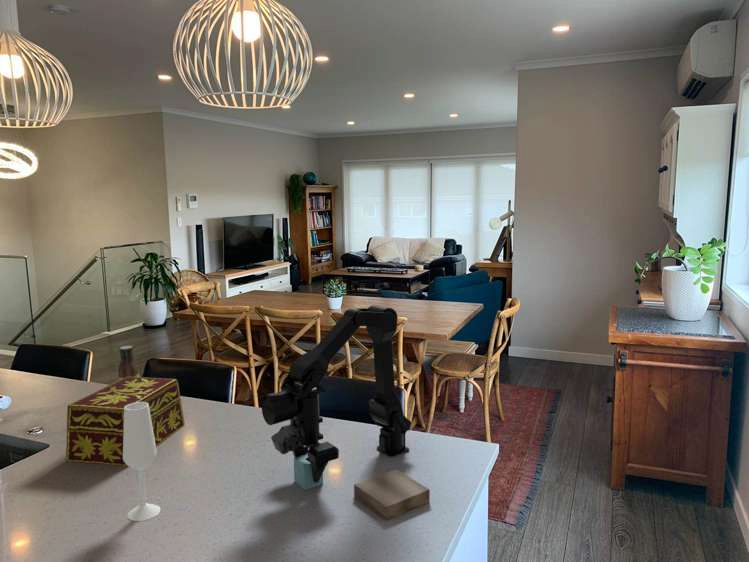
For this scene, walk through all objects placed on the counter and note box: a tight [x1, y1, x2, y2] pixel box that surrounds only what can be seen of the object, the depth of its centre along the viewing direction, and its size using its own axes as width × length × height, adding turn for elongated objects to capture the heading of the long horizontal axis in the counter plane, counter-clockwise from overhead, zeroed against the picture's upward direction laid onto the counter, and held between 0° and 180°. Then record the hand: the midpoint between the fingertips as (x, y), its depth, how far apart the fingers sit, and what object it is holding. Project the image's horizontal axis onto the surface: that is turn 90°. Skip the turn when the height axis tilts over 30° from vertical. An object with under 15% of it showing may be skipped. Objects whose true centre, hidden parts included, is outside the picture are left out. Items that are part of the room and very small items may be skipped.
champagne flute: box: [123, 402, 161, 522], centre depth 120 cm, size 7×7×24 cm
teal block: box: [293, 453, 324, 491], centre depth 134 cm, size 5×5×6 cm
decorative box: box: [65, 376, 185, 467], centre depth 157 cm, size 28×19×15 cm
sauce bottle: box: [118, 345, 140, 381], centre depth 186 cm, size 7×6×20 cm
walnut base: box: [353, 468, 431, 521], centre depth 126 cm, size 12×12×3 cm
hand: (308, 476), depth 134 cm, fingers open, 7 cm apart
